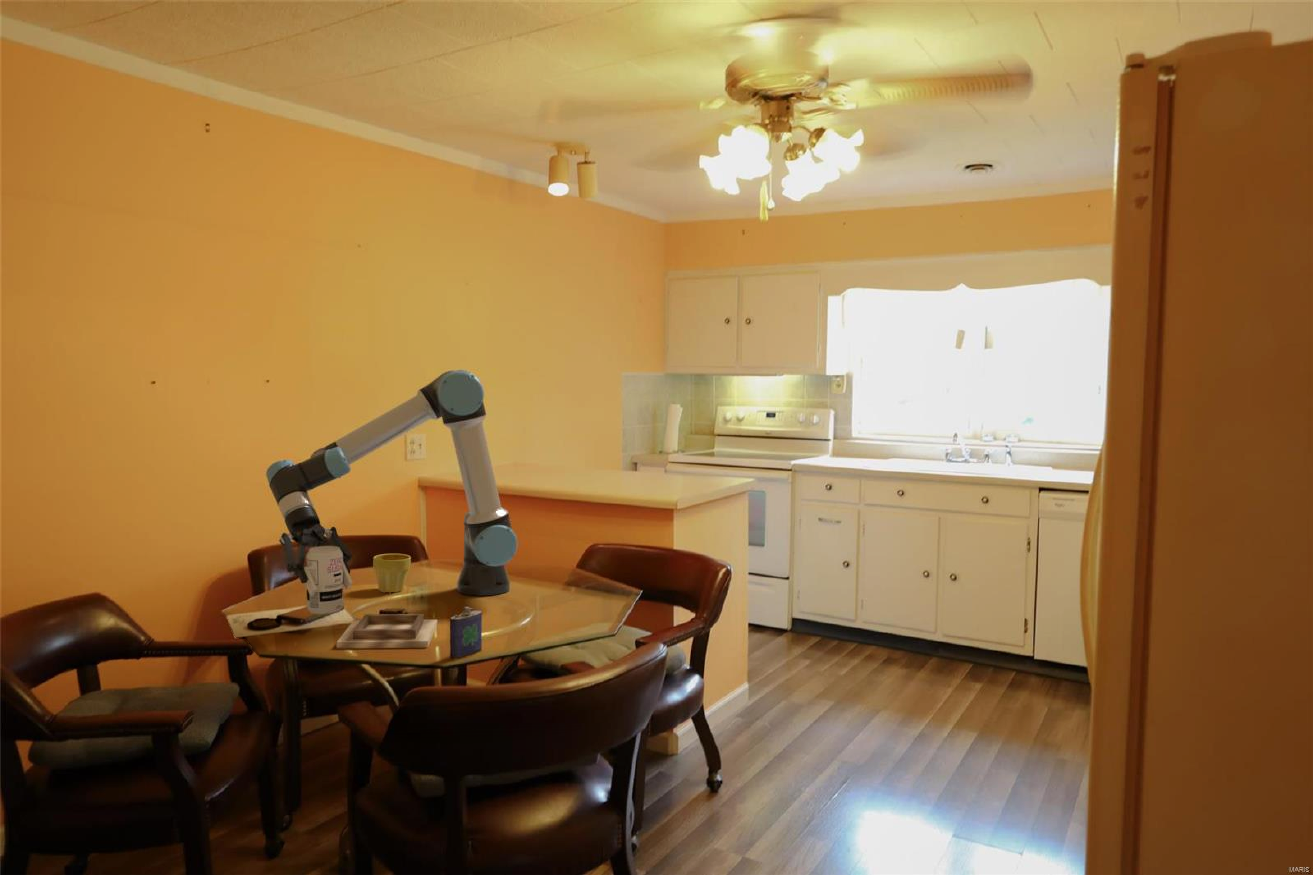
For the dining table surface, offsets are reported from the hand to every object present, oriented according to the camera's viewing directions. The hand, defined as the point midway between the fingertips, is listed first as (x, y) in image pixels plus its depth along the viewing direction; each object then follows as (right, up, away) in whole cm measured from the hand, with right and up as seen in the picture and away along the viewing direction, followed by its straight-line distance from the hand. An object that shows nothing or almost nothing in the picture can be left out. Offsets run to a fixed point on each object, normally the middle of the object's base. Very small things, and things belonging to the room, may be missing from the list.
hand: (331, 589), depth 207 cm
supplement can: (-3, -6, +3) cm, 7 cm away
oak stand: (+14, -11, -1) cm, 18 cm away
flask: (+35, -13, -12) cm, 39 cm away
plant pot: (+1, -8, +44) cm, 44 cm away
